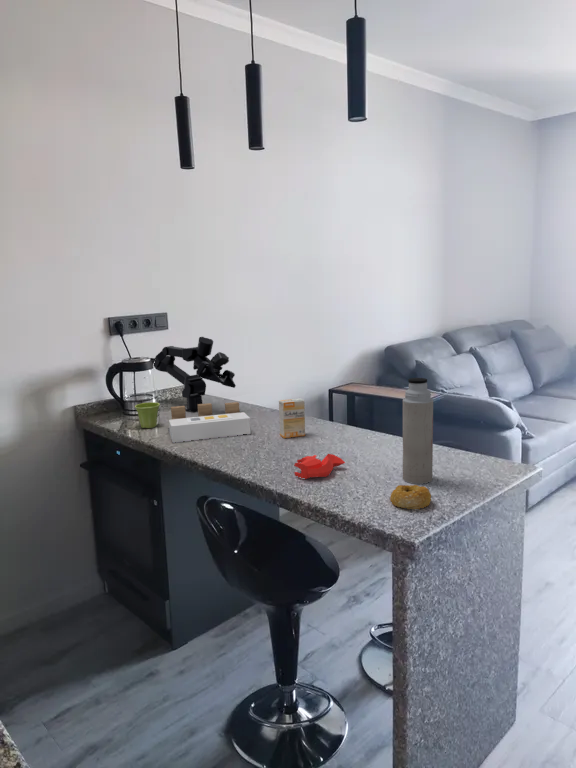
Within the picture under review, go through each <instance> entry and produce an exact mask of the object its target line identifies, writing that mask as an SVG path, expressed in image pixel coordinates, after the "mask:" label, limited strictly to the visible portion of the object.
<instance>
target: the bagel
mask: <svg viewBox="0 0 576 768" xmlns="http://www.w3.org/2000/svg"><path fill="white" fill-rule="evenodd" d="M389 499H390V503H391V502H392V503H391V504H392V505H393V506H394V507H396V506H397V508H400V507H401V509H404V508H407V509H406V510H410V509H419V510H421V509H420V508H423V509H425V508H427V507H428V506H429V505H430V504H431V501H432V495H431V492H430V490H429V489H428V488H427V487H426V486H424V485H423V486H422V485H421V486H419V484H413V485H406V484H405V485H402V484H401V485H400V484H399V485H397V486H396V487H395V489H393V490H392V492H391V494H390V497H389ZM426 506H427V507H426ZM424 507H425V508H424Z"/></svg>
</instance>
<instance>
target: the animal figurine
mask: <svg viewBox="0 0 576 768" xmlns="http://www.w3.org/2000/svg"><path fill="white" fill-rule="evenodd" d="M343 464H346V462H345V461H344V460H343V459H342V458H341V457H339V456H338V455H337V456H336V455H335V454H331V453H327V455H326V456H325V457H324V458H323V459H322V460H321V459H319V458H317V455H316V454H314V455H307V456H304V457H302V458H300V459H297V460H296V462H295V463H294V464H293V466H294V467H296V468H298V469H300V471H301V472H297V471H294V472H293V473H294V476H295V477H297V476H298V477H297V478H299V477H301V478H305V479H304V480H307V479H311V478H322V477H325V478H326V477H329V476H330V475H331V472H332V471H333V470H334V468H336V467H337V468H338V467H339V466H341V465H343ZM329 474H330V475H329ZM310 477H311V478H310ZM301 478H300V479H301Z"/></svg>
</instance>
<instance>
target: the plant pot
mask: <svg viewBox="0 0 576 768" xmlns="http://www.w3.org/2000/svg"><path fill="white" fill-rule="evenodd" d="M160 405H161V404H160V403H159V402H155V401H154V402H153V401H152V402H143V403H139V404H136V405H134V408H135V411H136V413H137V415H138V420H139V423H140V427H141V428H142V429H153V428H155V427H157V425H158V413H159V407H160Z"/></svg>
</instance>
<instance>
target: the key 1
mask: <svg viewBox="0 0 576 768" xmlns="http://www.w3.org/2000/svg"><path fill="white" fill-rule="evenodd" d="M185 409H186V407H185V405H177V406H170V412H171V420H172V419H181V418H187V417H186V414H187V413H186V410H185Z"/></svg>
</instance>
